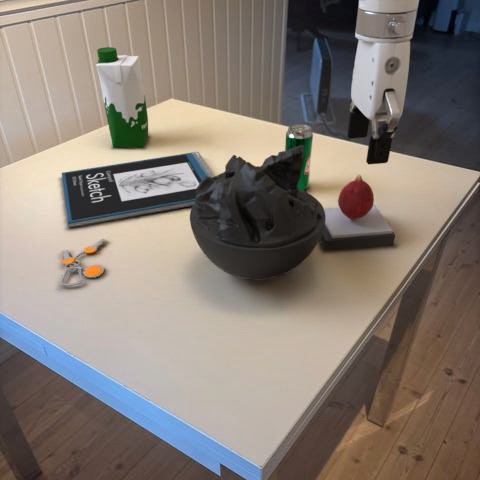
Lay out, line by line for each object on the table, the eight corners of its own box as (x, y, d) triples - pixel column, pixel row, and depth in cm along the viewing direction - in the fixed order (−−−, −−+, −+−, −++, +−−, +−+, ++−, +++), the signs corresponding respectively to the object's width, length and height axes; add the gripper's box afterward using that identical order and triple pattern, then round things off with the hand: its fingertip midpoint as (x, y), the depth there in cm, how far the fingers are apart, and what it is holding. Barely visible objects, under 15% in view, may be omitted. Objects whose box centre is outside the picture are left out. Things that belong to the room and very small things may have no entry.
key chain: (102, 284, 75) (100, 280, 75) (53, 288, 75) (51, 284, 74) (108, 240, 85) (107, 236, 84) (65, 243, 84) (64, 239, 83)
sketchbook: (62, 178, 103) (60, 169, 102) (199, 158, 110) (199, 149, 109) (69, 228, 88) (66, 218, 87) (228, 201, 95) (227, 191, 93)
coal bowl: (191, 309, 71) (179, 190, 58) (197, 235, 86) (188, 127, 73) (328, 306, 71) (345, 186, 59) (310, 232, 86) (321, 125, 73)
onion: (376, 222, 83) (385, 178, 78) (350, 231, 81) (357, 187, 76) (354, 208, 87) (361, 165, 82) (329, 216, 85) (334, 173, 80)
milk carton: (117, 135, 121) (100, 44, 107) (153, 135, 120) (141, 44, 107) (108, 149, 114) (90, 54, 101) (146, 149, 114) (133, 54, 100)
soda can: (309, 193, 97) (314, 133, 89) (283, 193, 97) (286, 133, 89) (307, 182, 101) (312, 123, 93) (282, 182, 101) (285, 123, 93)
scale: (373, 215, 90) (376, 203, 88) (393, 245, 83) (396, 232, 81) (308, 220, 89) (309, 207, 87) (322, 251, 82) (324, 237, 80)
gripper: (440, 37, 59) (410, 172, 70) (389, 9, 71) (371, 127, 83) (379, 41, 58) (360, 176, 70) (339, 12, 71) (328, 130, 82)
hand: (366, 149), depth 76 cm, fingers open, 9 cm apart
